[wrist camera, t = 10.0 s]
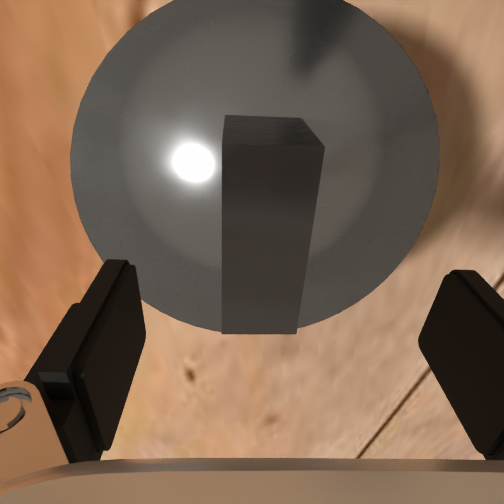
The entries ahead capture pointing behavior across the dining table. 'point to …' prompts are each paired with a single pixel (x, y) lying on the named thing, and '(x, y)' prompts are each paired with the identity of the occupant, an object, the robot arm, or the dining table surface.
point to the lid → (255, 160)
